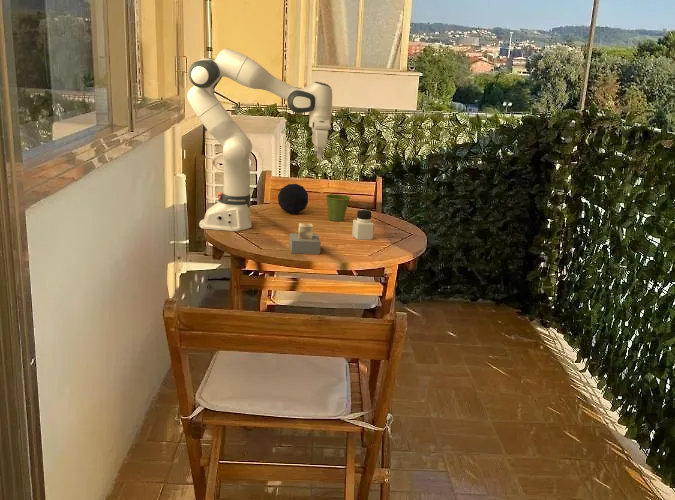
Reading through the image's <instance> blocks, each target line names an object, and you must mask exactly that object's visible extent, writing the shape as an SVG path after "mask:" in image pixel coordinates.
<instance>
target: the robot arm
mask: <svg viewBox="0 0 675 500" xmlns="http://www.w3.org/2000/svg"><path fill="white" fill-rule="evenodd" d="M187 74H188V79H189V81H190V83H191V84H192V85H193V86H192V87H190V89H189V90H188V91H187V94H186V99H187V102H188V103H189V105H190V107H191V108H192V110H193V112H194V114H195V115H196V117H197V118H198V119H199V121H200V122H201V123H202V124H203V126H204V128H205V129H206V130H207V131H208V133H209V134H210V135H211V137H213V138H214V139H215V140H216V141H217V142H218V143H219V144H220V146H222V169H223V188H222V189H223V192H218V193H217V197H218V199H217V200H218V202H216V203H215V204H213V205H212V206H210V207H209V208H207V210H206V212H205V214H204V218H203V219H201V220H200V221H199V223H198V226H199V228H201V229H204V230H205V229H206V230H217V231H228V232H229V231H230V232H239V231H242V230H247V229H251V228H252V227H253V224H252V220H251V212H250V210H251V209H250V207H251V194H250V191H251V190H250V187H251V185H250V184H251V169H250V155H251V154H252V151H253V143H252V141H251V139H250V138H249V137H248V136H247V134H246V132H244V130H242V128H241V127H240V126H239V125H238V124H237V122H236V121H235V120H234V119H233V118H232V116H231V115H230V114H229V112H228V111H227V110H226V109H225V107H224V105H223V104H222V103H221V102H220V100H219V99H218V97H217V96H216V95H215V93H214V89H215V88H217V87H216V86H217V85H218V84H219V83H220V81H221V80H222V78H224V77H225V78H228V79H230V80H232V81H234V82H235V83H237V84H239V85H241V86H243V87H246V88H248V89H252V90H263V91H267V92H268V93H269V92H270V93H272V94H274V95H275V96H277V97H278V98H281V99H283V100H285V101H286V103H287V106H288V108H289V110H290V111H292V112H293V113H295V114H299V115H300V114H301V115H302V114H304V113H309V120H308V121H309V122H308V123H309V124H308V127H310V128H311V131H312V135H311V136H312V137H311V142H312V143H313V147H314V155H315V156H316V158H317V159H318V160H321V159H322V157H323V152H324V149H326V148H327V144H328V138H329V131H330V130H331V124H332V123H331V122H332V113H331V111H332V107H333V89H332V87H331V86H330V85H329V84H328V83H323V82H321V81H313V82H312V83H310V84H309V85H307V86H304V87H296V86H293V85H292V84H289V83H287V82H285V81H283V80H281V79H279V78H278V77H276V76H274V75H273V74H272V73H271V72H269V71H268V70H267V69H266V68H265V67H263V66H262V65H261V64H260V63H258V62H257V61H255V59H252V58H251V57H249V56H247V55H245V54H244V53H241V52H239V51H236V50H233V49H230V48H223V49H222V50H220V51H219V52H218V53H217V55H216V57H215V58H211V57H206V58H200V59H199V60H197V61H194V62H193V63H192V64H191V65H190V66H189V69H188V73H187Z"/></svg>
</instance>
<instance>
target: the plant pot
mask: <svg viewBox="0 0 675 500" xmlns="http://www.w3.org/2000/svg"><path fill="white" fill-rule="evenodd" d="M325 197H326V202H327V216H328V220H329V221H332V222H343V221H345V216H346V212H347V208H348V206H349V203H350V200H351V198H352V197H350V196H348V195H344V194H338V193H337V194H336V193H334V194H333V193H330V194H329V193H328V194H325Z"/></svg>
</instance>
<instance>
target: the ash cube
mask: <svg viewBox="0 0 675 500" xmlns="http://www.w3.org/2000/svg"><path fill="white" fill-rule="evenodd" d="M313 231H314V226H313V224H312V223H304V222H298V232H297V234H298V237H299V239H312V234H314V233H313Z"/></svg>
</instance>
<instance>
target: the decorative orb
mask: <svg viewBox="0 0 675 500" xmlns="http://www.w3.org/2000/svg"><path fill="white" fill-rule="evenodd" d="M277 197H278V199H277V201H278V205H279V206H280V208H281V209H282V211H283V212H286V213H288V214H290V215H294V214H299V213H301V212H303V211H304V210H306V207H307V206H308V204H309V193H308V192H307V190H306V189H305V187H304V186H303V185H300V184H298V183H288V184H286V185H285V186H283V187H282V188H281V189H280V190H279V192H278V196H277Z"/></svg>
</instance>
